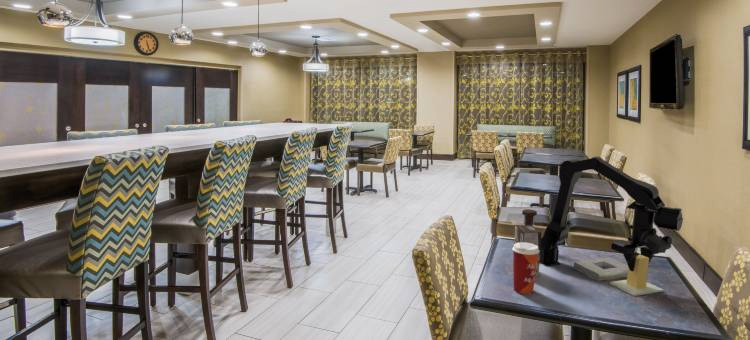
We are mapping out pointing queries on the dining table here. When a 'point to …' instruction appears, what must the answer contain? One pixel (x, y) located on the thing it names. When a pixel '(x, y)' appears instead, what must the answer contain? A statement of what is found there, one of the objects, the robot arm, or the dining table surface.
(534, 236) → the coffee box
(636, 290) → the pad
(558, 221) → the robot arm
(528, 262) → the coffee cup
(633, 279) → the peg
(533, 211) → the bolt
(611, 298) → the dining table surface
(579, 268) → the square hole plate
